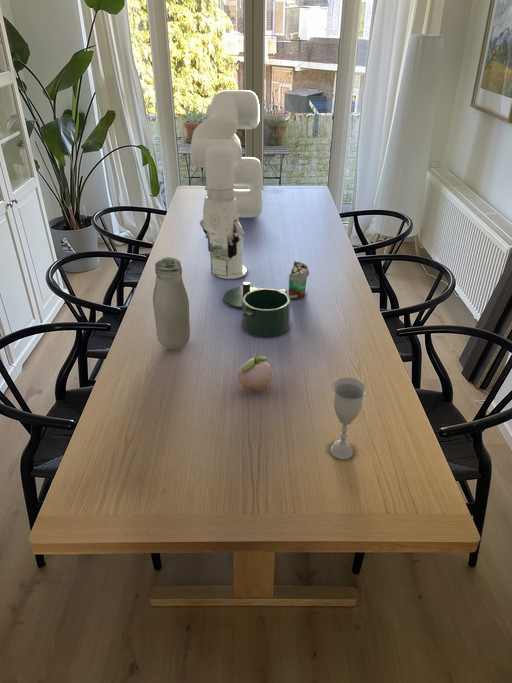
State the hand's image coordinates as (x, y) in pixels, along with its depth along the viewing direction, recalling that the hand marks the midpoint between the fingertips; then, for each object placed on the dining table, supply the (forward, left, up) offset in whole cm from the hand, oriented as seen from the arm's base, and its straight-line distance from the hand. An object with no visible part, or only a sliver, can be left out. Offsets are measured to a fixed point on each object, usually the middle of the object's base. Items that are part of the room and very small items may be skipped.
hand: (222, 252), depth 152 cm
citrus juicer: (-60, +92, -25) cm, 113 cm away
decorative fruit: (+28, -22, -25) cm, 43 cm away
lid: (-5, +18, -24) cm, 30 cm away
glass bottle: (-4, -19, -25) cm, 31 cm away
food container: (+8, +32, -25) cm, 41 cm away
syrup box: (0, 0, -6) cm, 6 cm away
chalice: (+57, -29, -25) cm, 69 cm away
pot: (+11, +7, -25) cm, 28 cm away
